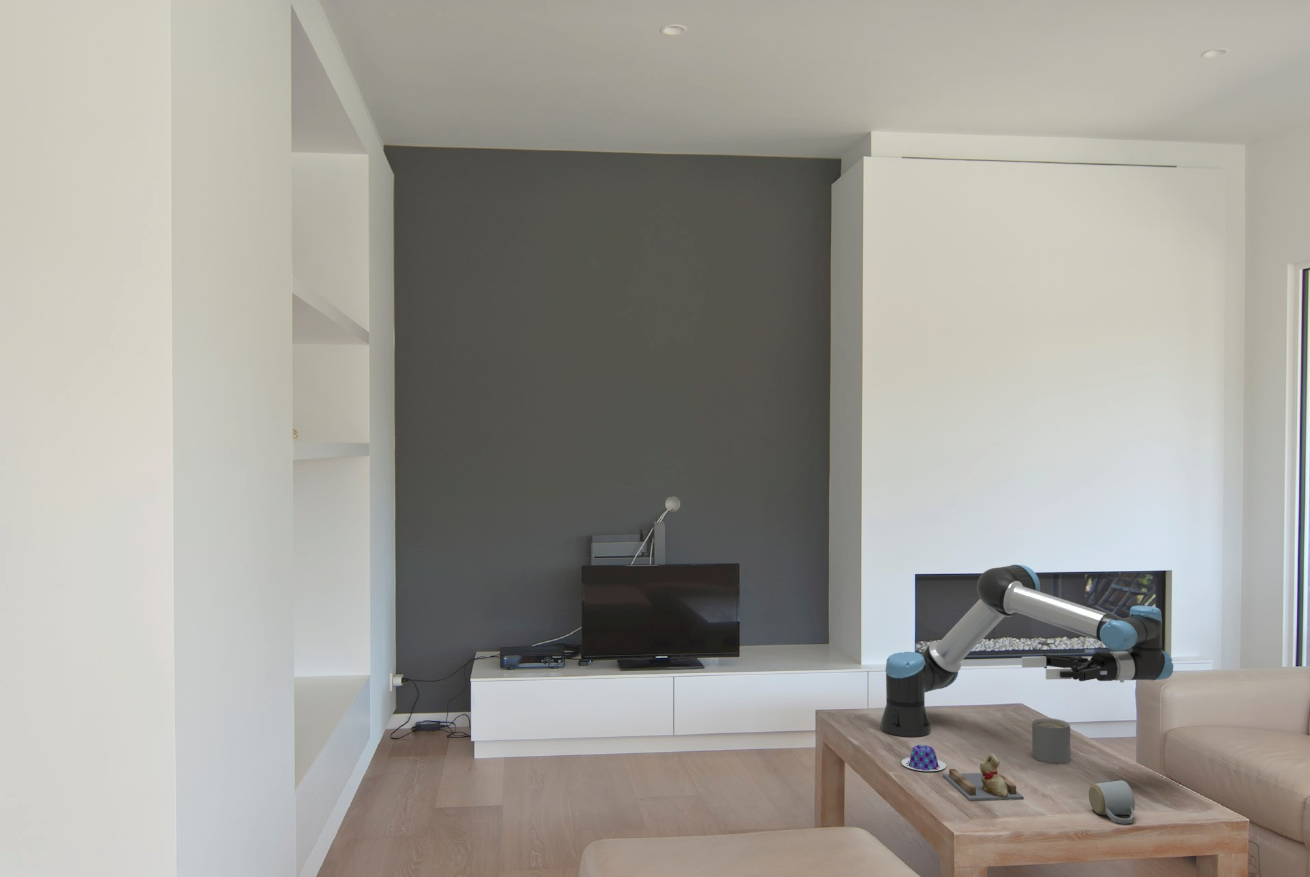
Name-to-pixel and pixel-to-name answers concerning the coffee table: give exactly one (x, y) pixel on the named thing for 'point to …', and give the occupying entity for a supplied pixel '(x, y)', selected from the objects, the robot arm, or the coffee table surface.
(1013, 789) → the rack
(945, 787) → the coffee table surface
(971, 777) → the mat
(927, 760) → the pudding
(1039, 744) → the coffee mug
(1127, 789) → the ceramic mug
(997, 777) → the chocolate bunny
